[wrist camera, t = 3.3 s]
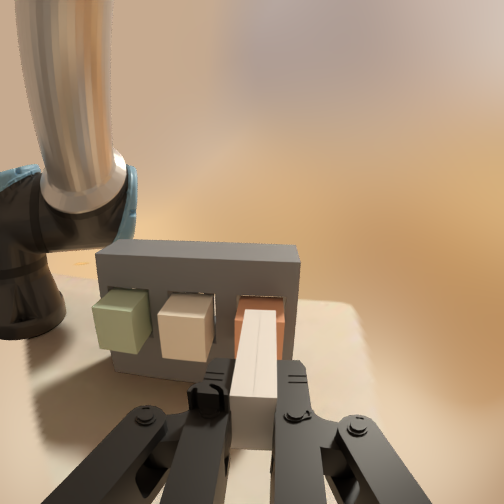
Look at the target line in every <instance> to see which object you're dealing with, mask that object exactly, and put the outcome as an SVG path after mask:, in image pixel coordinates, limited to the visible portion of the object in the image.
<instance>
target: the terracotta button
mask: <svg viewBox="0 0 504 504" xmlns="http://www.w3.org/2000/svg"><path fill="white" fill-rule="evenodd" d="M245 309H249V310H276V344H277V360H282V352H283V339H284V327H285V318H284V304H283V297H260V296H240V299H239V303H238V308H237V312H236V316H235V359H236V357H237V352H238V346H239V341H240V335H241V330H242V324H243V319H244V313H245Z"/></svg>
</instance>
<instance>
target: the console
mask: <svg viewBox="0 0 504 504" xmlns="http://www.w3.org/2000/svg"><path fill="white" fill-rule="evenodd" d="M95 258H96V267H97V275H98V283H99V290H100V296H101V298H103V297H104V296H105V295H106V294H107V293H108V292H109V291H110V290H112V289H113V288H114V287H120V288H139V289H149V299H150V308H151V317H152V326H153V331H152V332H151V334H150V335H149V337H148V338H147V340H146V341H145V343H144V345H143V346H142V348H141V349H140V351H139V352H138V354H131V353H124V352H118V351H112V350H110V351H111V356H112V360H113V365H114V369H115V371H117V372H123V373H129V374H135V375H141V376H147V377H154V378H161V379H169V380H177V381H185V382H194V383H199V382H203V380H204V376H205V373H206V369H207V366H208V364H209V363H210V362H211V361H212V360H213V359H214V358H228V359H235V316H236V312H237V308H238V303H239V299H240V296H241V295H252V296H276V297H283V304H284V318H285V327H284V339H283V352H282V360H292V356H293V346H294V336H295V325H296V314H297V303H298V291H299V278H300V264H301V263H300V258H299V255H298V251H297V248H296V245H280V244H254V243H227V242H200V241H196V242H195V241H169V240H137V239H119V240H118V241H116V242H114V243H112V244H111V245H109V246H107V247H105V248H104V249H102V250H100V251H99V252H97V253H95ZM173 292H195V293H212V294H215V304H216V316H214V317H215V336H214V339H213V342H212V345H211V348H210V352H209V355H208V358H207V361H206V362H197V361H187V360H177V359H168V358H162V350H161V343H160V334H159V326H158V317H157V314H158V313H159V311H160V310H161V309H162V307H163V306H164V304H165V303H166V301H167V300H168V299H169V297H170V296H171V294H172V293H173Z"/></svg>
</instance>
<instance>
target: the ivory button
mask: <svg viewBox="0 0 504 504" xmlns="http://www.w3.org/2000/svg"><path fill="white" fill-rule="evenodd" d="M157 317H158V326H159V334H160V343H161V350H162V358H168V359H177V360H187V361H197V362H206V361H207V358H208V355H209V352H210V348H211V345H212V342H213V339H214V336H215V317H214V294H201V293H186V292H173V293H172V294H171V296H170V297H169V299H168V300H167V301H166V303H165V304H164V306H163V307H162V309H161V310H160V311H159V313H158V314H157Z"/></svg>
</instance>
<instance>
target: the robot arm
mask: <svg viewBox="0 0 504 504" xmlns="http://www.w3.org/2000/svg"><path fill="white" fill-rule="evenodd" d="M113 2H114V0H15V13H16V25H17V35H18V43H19V51H20V58H21V65H22V70H23V77H24V82H25V88H26V93H27V98H28V102H29V107H30V111H31V116H32V120H33V124H34V128H35V132H36V136H37V139H38V143H39V147H40V150H41V154H42V157H43V161H44V164H45V168H44V170H43V173H41V170H40V168H39V166H38V165H37V164H32V165H27V166H22V167H18V168H15V169H10V170H7V171H3V172H0V339H2V340H21V339H27V338H31V337H34V336H37V335H40V334H43V333H45V332H47V331H49V330H51V329H52V328H54V327H55V326H57V325H58V324H59V323H60V322H61V321H62V320H63V319H64V317H65V315H66V307H65V302H64V298H63V295H62V294H61V292H60V291H59V290H58V288H57V286H56V283H55V281H54V279H53V276H52V274H51V272H50V270H49V267H48V263H47V257H46V253H52V252H63V251H77V250H89V249H104V248H105V247H107V246H109V245H111V244H112V243H114V242H116V241H118V240H119V239H133V237H134V232H135V224H136V207H137V170H136V168H135V167H133V166H129V165H127V164H125V161H124V159H123V157H122V155H121V154H120V153H119V152H118V151H117V150H116V149H114V148H113V143H112V124H111V93H110V92H111V91H110V90H111V88H110V68H111V62H110V61H111V33H112V16H113ZM187 396H188V404H189V410H188V411H186V412H183V413H179V414H171V415H165V413H164V412H163V411H162V410H161V409H160V408H158V407H156V406H150V405H146V406H140V407H137V408H134V409H133V410H132V411H130V412H129V413H128V414H127V415H126V416H125V418H124V419H123V420H122V421H121V422H120V423H119V424H118V425H117V426H116V427H115V428H114V429H113V430H112V431H111V432H110V433H109V434H108V435H107V436H106V437H105V438H104V439H103V441H102V442H101V443H100V444H99V445H98V446H97V447H96V448H95V449H94V450H93V451H92V452H91V453H90V454H89V455H88V456H87V457H86V458H85V459H84V460H83V461H82V462H81V463H80V464H79V465H78V466H77V467H76V468H75V469H74V470H73V471H72V472H71V473H70V474H69V476H68V477H67V478H66V479H65V480H64V481H63V482H62V483H61V484H60V485H59V486H58V487H57V488H56V489H55V490H54V491H53V492H52V493H51V494H50V495H49V496H48V497H47V498H46V499H45V500H44V501H43V502H42V503H41V504H151V503H152V502H153V500H154V499H155V497H156V496H157V494H158V493H159V492H160V490H161V489H162V487H163V486H164V484H165V483H166V484H165V487H164V491H163V494H162V497H161V500H160V504H224V500H225V493H226V486H227V479H228V472H229V465H230V448H233V449H248V450H272V457H271V467H270V473H271V482H270V504H327V502H326V493H325V484H324V476H323V475H325V478H326V480H327V482H328V484H329V486H330V488H331V490H332V493H333V495H334V497H335V499H336V501H337V503H338V504H432V503H431V501H430V500H429V499H428V497H427V496H426V494H425V493H424V491H423V490H422V489H421V487H420V486H419V484H418V483H417V481H416V480H415V479H414V477H413V476H412V474H411V473H410V472H409V470H408V469H407V467H406V466H405V465H404V463H403V462H402V460H401V459H400V458H399V456H398V455H397V453H396V452H395V450H394V449H393V447H392V446H391V445H390V443H389V442H388V440H387V439H386V438H385V436H384V435H383V433H382V432H381V430H380V429H379V428H378V426H377V425H376V423H375V422H374V421H373V420H371V419H370V418H368V417H366V416H362V415H349V416H347V417H344V418H343V419H342V420H341V421H340V422H339V423H338V422H333V421H328V420H325V419H322V418H320V417H318V416H317V415H316V414H315V413H314V411H313V410H312V408H311V403H310V396H309V389H308V383H307V375H306V368H305V366H304V365H303V364H302V363H301V362H300V360H277V344H276V310H249V309H245V313H244V319H243V324H242V330H241V335H240V341H239V346H238V352H237V357H236V359H228V358H214V359H213V360H212V361H211V362H210V363H209V364H208V366H207V369H206V373H205V376H204V380H203V382H199V383H195V384H194V385H192V386H191V387H190V388H189V389H188V390H187Z"/></svg>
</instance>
